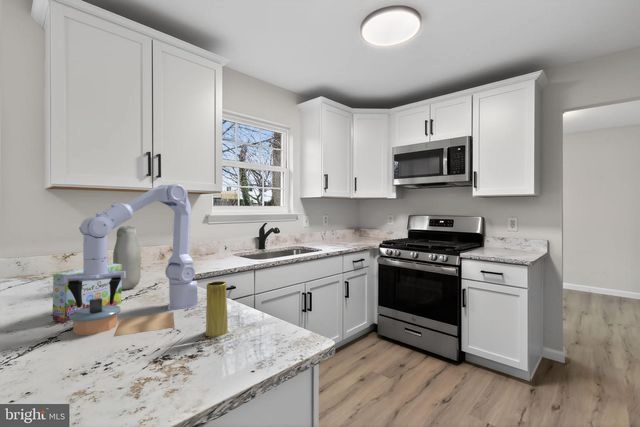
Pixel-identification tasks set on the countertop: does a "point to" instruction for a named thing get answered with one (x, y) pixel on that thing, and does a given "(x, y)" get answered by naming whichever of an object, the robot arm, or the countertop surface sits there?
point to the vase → (216, 309)
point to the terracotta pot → (94, 326)
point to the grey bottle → (128, 256)
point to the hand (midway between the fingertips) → (95, 304)
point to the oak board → (145, 324)
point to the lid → (95, 311)
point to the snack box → (90, 290)
